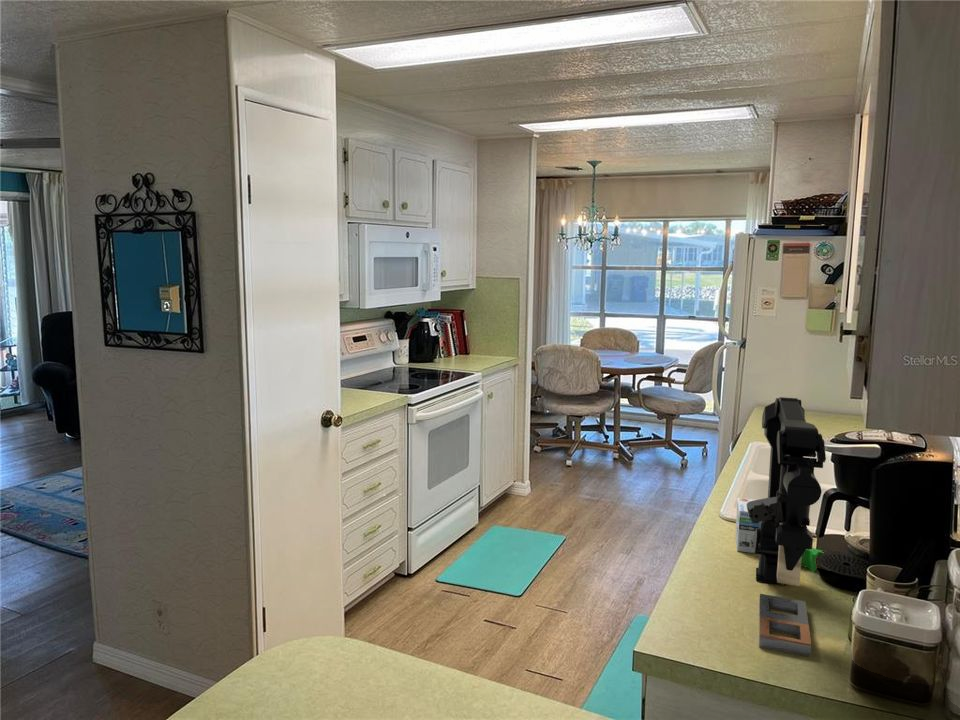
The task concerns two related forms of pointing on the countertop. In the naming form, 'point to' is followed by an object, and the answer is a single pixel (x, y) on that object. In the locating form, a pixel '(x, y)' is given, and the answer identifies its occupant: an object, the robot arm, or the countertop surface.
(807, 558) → the pipe clamp
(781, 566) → the beech peg
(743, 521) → the light bulb box
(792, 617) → the grey board
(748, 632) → the countertop surface
